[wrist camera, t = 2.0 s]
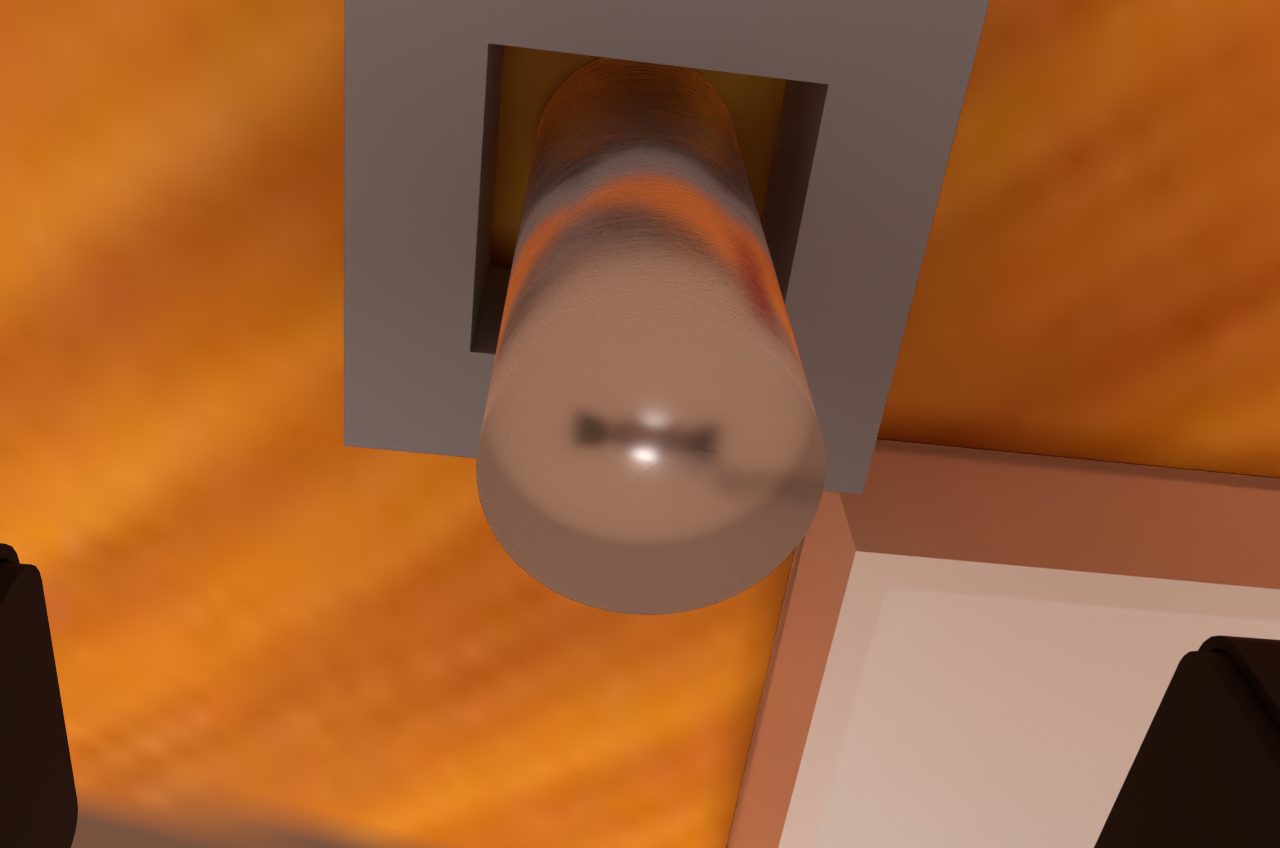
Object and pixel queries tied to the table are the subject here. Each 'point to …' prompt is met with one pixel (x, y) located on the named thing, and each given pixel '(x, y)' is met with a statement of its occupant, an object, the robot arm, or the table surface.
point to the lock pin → (645, 358)
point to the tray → (992, 644)
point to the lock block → (792, 218)
